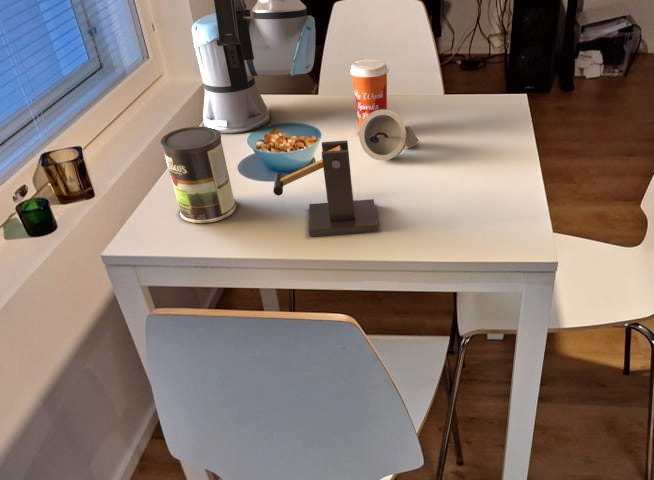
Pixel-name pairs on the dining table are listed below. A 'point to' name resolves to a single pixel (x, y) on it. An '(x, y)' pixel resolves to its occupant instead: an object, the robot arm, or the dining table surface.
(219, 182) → the coffee can
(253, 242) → the dining table surface
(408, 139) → the light fixture
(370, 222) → the stand
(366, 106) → the coffee cup
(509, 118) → the dining table surface
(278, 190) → the switch lever
